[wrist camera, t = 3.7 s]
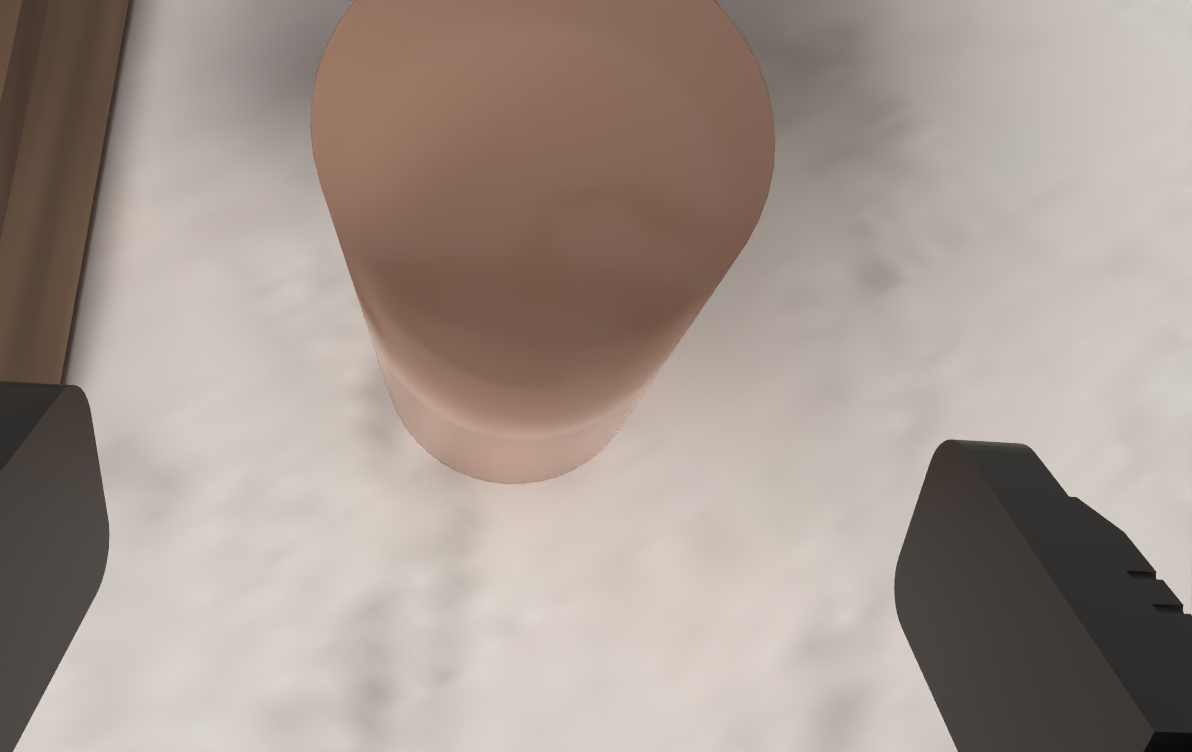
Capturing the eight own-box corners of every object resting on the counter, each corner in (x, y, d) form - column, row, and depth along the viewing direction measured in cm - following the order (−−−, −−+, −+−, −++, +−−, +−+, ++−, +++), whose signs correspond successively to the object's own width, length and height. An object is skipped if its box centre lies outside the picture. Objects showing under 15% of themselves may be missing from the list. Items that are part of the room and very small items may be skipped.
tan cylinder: (642, 249, 20) (772, -53, 11) (636, 490, 19) (777, 359, 10) (396, 230, 19) (336, -100, 11) (372, 476, 18) (284, 325, 10)
